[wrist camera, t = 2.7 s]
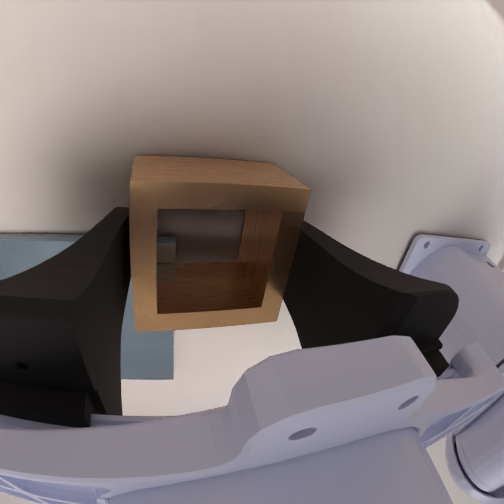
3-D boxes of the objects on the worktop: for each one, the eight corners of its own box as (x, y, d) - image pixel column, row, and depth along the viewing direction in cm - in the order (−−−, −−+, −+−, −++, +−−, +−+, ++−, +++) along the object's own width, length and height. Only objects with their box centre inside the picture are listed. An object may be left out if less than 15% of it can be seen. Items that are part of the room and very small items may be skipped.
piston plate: (175, 236, 13) (180, 303, 10) (172, 371, 18) (178, 428, 15) (-21, 233, 10) (-60, 289, 7) (30, 364, 15) (20, 416, 12)
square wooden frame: (272, 163, 12) (310, 189, 9) (251, 276, 15) (276, 321, 12) (134, 155, 10) (130, 181, 8) (134, 280, 13) (136, 331, 10)
